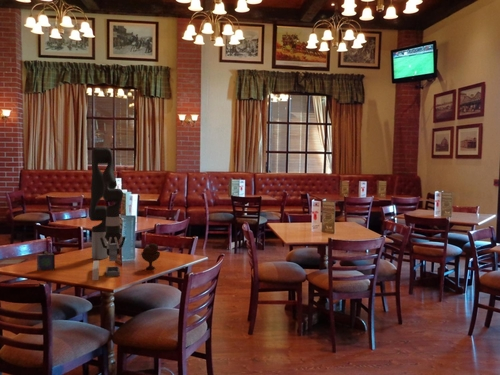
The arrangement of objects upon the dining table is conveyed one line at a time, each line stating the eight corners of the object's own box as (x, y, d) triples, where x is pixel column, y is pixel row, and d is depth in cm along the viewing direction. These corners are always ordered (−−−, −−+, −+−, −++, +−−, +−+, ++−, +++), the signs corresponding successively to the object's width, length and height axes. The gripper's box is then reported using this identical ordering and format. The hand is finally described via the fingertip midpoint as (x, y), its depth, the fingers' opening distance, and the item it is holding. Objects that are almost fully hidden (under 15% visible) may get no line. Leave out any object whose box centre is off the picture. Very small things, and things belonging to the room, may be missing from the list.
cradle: (106, 271, 256) (106, 266, 256) (118, 270, 258) (118, 266, 258) (106, 276, 244) (106, 272, 243) (119, 276, 246) (119, 271, 246)
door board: (93, 269, 259) (93, 260, 259) (98, 269, 260) (98, 260, 259) (92, 280, 236) (92, 270, 236) (98, 280, 237) (98, 270, 237)
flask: (36, 270, 253) (36, 252, 253) (37, 269, 256) (37, 251, 255) (54, 269, 256) (54, 251, 256) (55, 268, 259) (55, 250, 258)
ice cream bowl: (151, 265, 271) (151, 241, 270) (163, 268, 264) (164, 243, 263) (137, 268, 263) (137, 243, 262) (149, 272, 256) (149, 245, 255)
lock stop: (109, 257, 254) (109, 243, 254) (116, 257, 255) (116, 243, 255) (109, 261, 245) (109, 246, 244) (116, 260, 246) (116, 246, 246)
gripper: (125, 223, 255) (125, 253, 256) (99, 223, 250) (99, 254, 251) (126, 225, 248) (126, 256, 249) (99, 225, 243) (99, 257, 244)
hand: (112, 255), depth 250 cm, fingers closed on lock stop, 4 cm apart
